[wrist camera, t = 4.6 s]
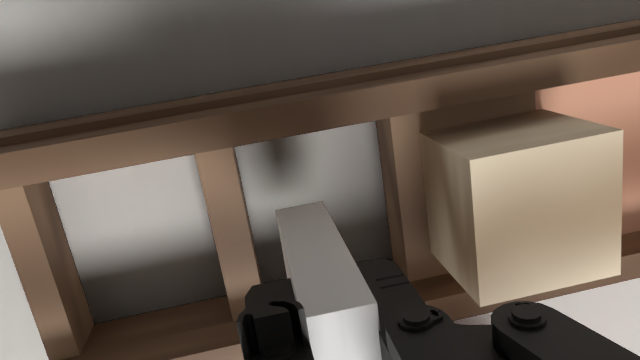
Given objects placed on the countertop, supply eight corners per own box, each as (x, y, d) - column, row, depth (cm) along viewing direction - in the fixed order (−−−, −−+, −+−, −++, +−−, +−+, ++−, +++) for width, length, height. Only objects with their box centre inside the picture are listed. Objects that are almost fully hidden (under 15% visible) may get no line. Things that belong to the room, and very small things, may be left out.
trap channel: (-2, 130, 18) (-87, 168, 13) (720, 5, 21) (867, -2, 16) (76, 358, 20) (29, 458, 16) (705, 217, 23) (827, 266, 19)
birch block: (418, 132, 18) (469, 160, 14) (542, 109, 18) (623, 129, 15) (430, 252, 19) (480, 307, 15) (545, 227, 20) (620, 274, 16)
